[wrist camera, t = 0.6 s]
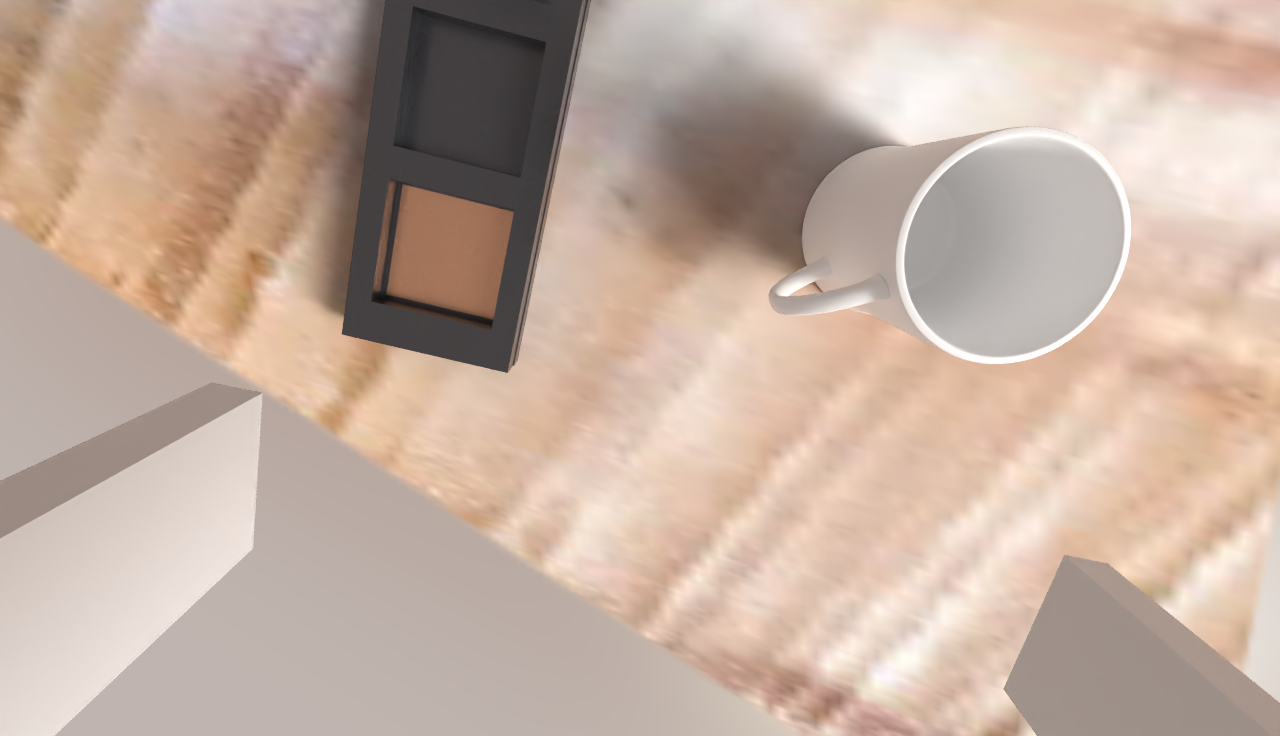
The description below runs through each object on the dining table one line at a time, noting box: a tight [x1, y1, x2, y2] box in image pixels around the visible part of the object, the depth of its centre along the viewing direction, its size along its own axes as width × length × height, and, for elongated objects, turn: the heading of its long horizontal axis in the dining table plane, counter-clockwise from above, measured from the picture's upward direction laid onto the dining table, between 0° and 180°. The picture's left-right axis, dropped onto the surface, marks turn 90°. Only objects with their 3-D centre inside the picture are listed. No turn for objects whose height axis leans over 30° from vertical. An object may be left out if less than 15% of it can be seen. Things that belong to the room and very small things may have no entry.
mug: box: [769, 127, 1131, 364], centre depth 28 cm, size 12×8×12 cm
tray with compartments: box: [342, 0, 591, 373], centre depth 31 cm, size 25×8×2 cm, turn 166°
